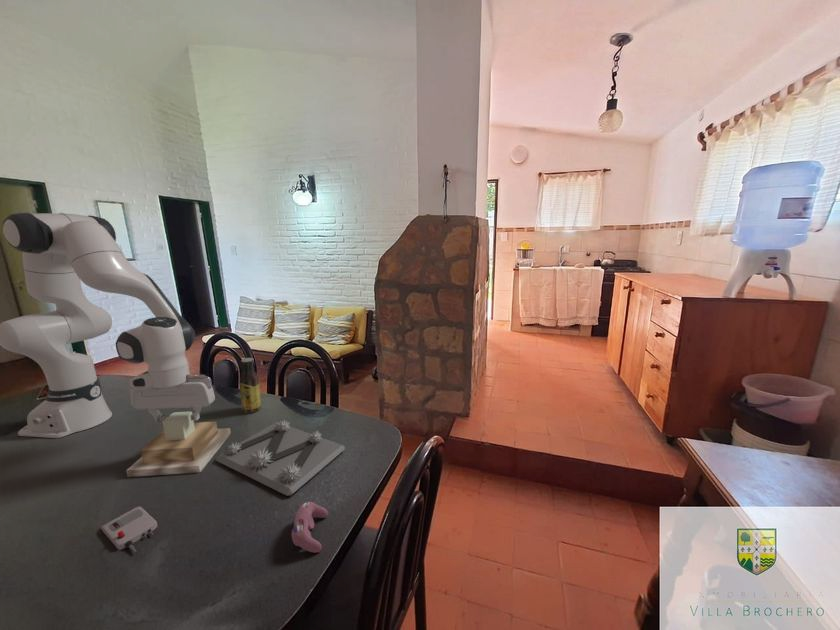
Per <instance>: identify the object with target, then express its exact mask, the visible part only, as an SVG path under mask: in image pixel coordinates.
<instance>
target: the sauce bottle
mask: <svg viewBox="0 0 840 630" xmlns="http://www.w3.org/2000/svg"><path fill="white" fill-rule="evenodd" d="M254 364H255V359H254V358H253V357H245V358H242V359H241V360H240V365H241V370H242V371H241V375H240V379H239V391H240V392H239V394H240V402H241V403H240V404H241V408H242V412H243V413H245V414H252V412H253V413H256V412H258V411H259V410H261V408H262V406H261V405H262V401H261V390H260V381H259V375H258V373H256V371H255V365H254ZM257 410H258V411H257Z"/></svg>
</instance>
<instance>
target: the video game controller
mask: <svg viewBox="0 0 840 630" xmlns="http://www.w3.org/2000/svg"><path fill="white" fill-rule="evenodd" d="M328 516H329V511H328V510H327V509H326V508H325V507H323V506H321V505H318V504H317V503H315V502H313V501H307V502H304V503H302V504H300V505H299V508H298V509H297V512H296V514H295V518H294V521H293V522H294V523H293V528H292V529H291V541H292V542H293V544H294V545H295V546H296V547H300V548H301V549H302V550H304V551H307V552H309V553H315V554H316V553H320V552H321V550H322V548H323V546H322V544H321V543H320V541H318V540H316V539H315V538H313V537H312V534H311V531H310V530H312V529H314V527H315V521H314V518H313V517H316V518H317V519H325V518H327V517H328Z"/></svg>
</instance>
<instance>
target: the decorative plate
mask: <svg viewBox="0 0 840 630" xmlns="http://www.w3.org/2000/svg"><path fill="white" fill-rule="evenodd" d="M345 449H346V447H345V445H343V444H340V443H337V442H335V441H332V440H329V439H326V438H323V437H322V433H320V431H318V430H316V432H315V431H312V433H309V432H306V431H304V430H302V429H298V428H297V427H296V428H295V427H293V426H291V425H290V422H288V420H286V419H284V420H282V419H281V420H280V419H279V421H276V422H273V423H272V424H270V425H269V426H267V427H265V428H263V429H262V430H259V431H258V432H256V433H255V434H253V435H251V436H249V437H247V438H246V439H244V440H242V441H241V442H237V441H236V442H235V441H232V442H231V443H230V444H229V445H228V444H227V445H226V449H224V452H221V453H220V454H218V456H217V458H215V459H216V460H215V461H216V462H218V463H220V464H221V465H224V466H226V467H228V468H230V469H232V470H234V471H236V472H237V473H241V474H242V475H244V476H246V477H248V478H251V479H252V480H254V481H257V482H258V483H260V484H262V485H265V486H266V487H268V488H271V490H272V489H273V490H274V491H277V492H278V493H281V494H282V495H284V496H288V497H291V496H292V495H293V494H294V493H295V492H297V491H298V490H299V489H301V487H303V486H304V485H305V484H306V483H308V481H310V480H311V479H313V478H314V476H315V475H317V474H318V473H319V472H321V470H323V469H324V468H325V467H326V466H328V465H329V464H330V463H331V462H333V460H334V459H335V458H338V456H339V455H340V454H341V453H343V452H344V451H345Z"/></svg>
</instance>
